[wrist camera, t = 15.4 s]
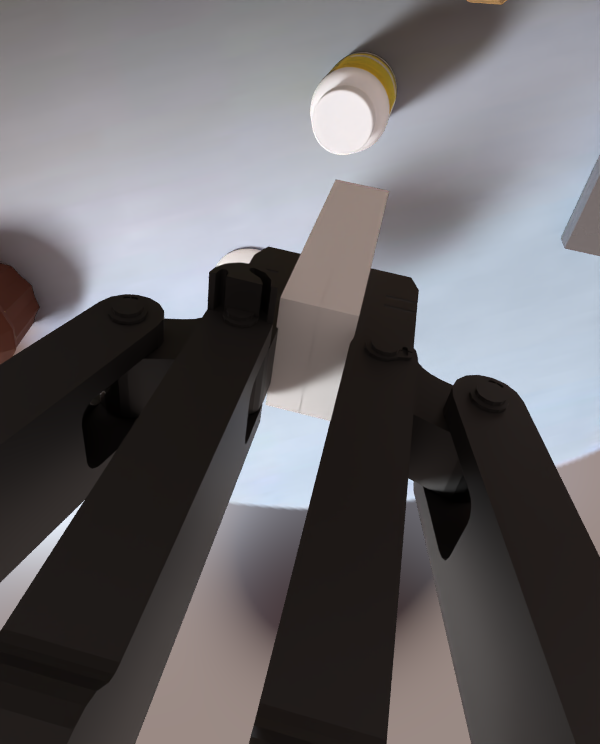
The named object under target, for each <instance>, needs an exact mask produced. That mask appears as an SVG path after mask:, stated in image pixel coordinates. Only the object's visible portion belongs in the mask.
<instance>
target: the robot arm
mask: <svg viewBox="0 0 600 744" xmlns="http://www.w3.org/2000/svg"><path fill="white" fill-rule="evenodd" d="M388 194H389V191H387V190H382V189H378V188H373V187H368V186H364V185H359V184H355V183H350V182H345V181H341V180H335V182H334V184H333V187H332V189H331V191H330V193H329V195H328V197H327V199H326V202H325V204H324V206H323V208H322V210H321V212H320V214H319V216H318V219H317V221H316V223H315V225H314V227H313V229H312V231H311V233H310V236H309V238H308V240H307V242H306V244H305V246H304V248H303V251H302V253H301V254H299V253H294V252H290V251H285V250H281V249H277V248H272V247H267V248H265V249H263V250H261V251H260V252H258V253H256V254H255V255H254V256H253V258H252V259H251V261H250V263H241V262H237V263H226V264H223V265H220V266H217V267H215V268H214V269H213V270H211V271H210V272H209V290H208V309H207V311H206V312H205V314H204V316H203V317H202V318H197V319H164V310H163V309H162V307H161V306H160V304H159V303H157V302H155V301H154V300H152V299H150V298H147V297H143V296H140V295H131V294H125V295H118V296H112V297H109V298H107V299H105V300H102V301H100V302H98V303H97V304H95V305H94V306H92V307H91V308H89V309H87V310H86V311H84V312H83V313H81V314H79V315H78V316H76V317H75V318H73V319H72V320H70V321H68V322H67V323H65V324H64V325H62V326H60V327H59V328H57V329H56V330H54V331H52V332H51V333H49V334H48V335H46V336H45V337H43V338H41V339H40V340H38V341H37V342H35V343H33V344H32V345H30V346H29V347H27V348H26V349H24V350H22V351H21V352H19V353H18V354H16V355H14V356H13V357H11V358H10V359H8V360H7V361H5V362H3V363H2V364H0V582H1V581H2V580H3V579H4V578H5V577H6V576H7V575H8V574H9V573H10V572H11V571H12V570H14V568H16V566H18V565H19V564H20V563H21V562H22V560H24V559H25V558H26V557H27V556H28V555H29V554H30V553H31V552H32V551H33V550H34V549H35V548H36V547H37V546H38V545H39V544H40V543H41V542H42V541H43V540H44V539H45V538H46V537H47V536H48V535H49V534H50V533H51V532H52V531H53V530H54V529H55V528H56V527H57V526H58V525H59V524H60V523H62V521H64V520H65V518H67V517H68V516H69V515H70V514H71V513H72V512H73V511H74V510H75V509H76V508H77V507H78V506H79V505H80V504H81V503H82V502H83V501H84V500H85V501H84V502H83V504H82V505H81V507H80V508H79V510H78V511H77V513H76V515H75V516H74V518H73V519H72V521H71V522H70V524H69V526H68V527H67V529H66V530H65V532H64V533H63V535H62V536H61V538H60V540H59V541H58V543H57V544H56V546H55V547H54V549H53V551H52V552H51V554H50V555H49V557H48V558H47V560H46V561H45V563H44V564H43V566H42V568H41V569H40V571H39V572H38V574H37V575H36V577H35V578H34V580H33V581H32V583H31V585H30V586H29V588H28V589H27V591H26V592H25V594H24V596H23V597H22V599H21V600H20V602H19V603H18V605H17V606H16V608H15V609H14V611H13V613H12V614H11V616H10V617H9V619H8V620H7V622H6V624H5V625H4V627H3V628H2V630H1V631H0V744H135V743H136V740H137V737H138V735H139V732H140V730H141V727H142V725H143V722H144V719H145V717H146V714H147V712H148V709H149V706H150V704H151V701H152V699H153V696H154V693H155V691H156V688H157V686H158V683H159V681H160V678H161V676H162V673H163V670H164V668H165V665H166V663H167V660H168V657H169V655H170V652H171V650H172V647H173V645H174V642H175V639H176V637H177V634H178V632H179V629H180V626H181V624H182V621H183V619H184V616H185V613H186V611H187V608H188V606H189V603H190V601H191V598H192V595H193V592H194V590H195V588H196V585H197V583H198V580H199V577H200V575H201V572H202V570H203V567H204V565H205V562H206V559H207V557H208V554H209V552H210V549H211V546H212V544H213V541H214V538H215V536H216V534H217V531H218V528H219V526H220V523H221V520H222V518H223V515H224V513H225V510H226V507H227V505H228V503H229V500H230V497H231V495H232V492H233V490H234V487H235V485H236V482H237V479H238V477H239V474H240V472H241V469H242V466H243V464H244V461H245V459H246V456H247V454H248V451H249V448H250V446H251V443H252V441H253V438H254V435H255V433H256V430H257V428H258V425H259V423H260V417H261V410H262V403H263V401H264V398H265V396H266V393H267V398H266V405H268V406H272V407H276V408H280V409H284V410H288V411H292V412H296V413H300V414H304V415H308V416H312V417H316V418H320V419H324V420H328V421H330V425H329V429H328V433H327V437H326V441H325V445H324V449H323V453H322V457H321V461H320V465H319V469H318V472H317V476H316V480H315V484H314V488H313V492H312V496H311V500H310V504H309V508H308V513H307V516H306V520H305V524H304V528H303V532H302V536H301V540H300V545H299V548H298V552H297V556H296V560H295V564H294V568H293V572H292V576H291V580H290V584H289V588H288V592H287V596H286V600H285V604H284V608H283V612H282V616H281V620H280V624H279V628H278V632H277V636H276V639H275V643H274V647H273V651H272V655H271V660H270V663H269V667H268V671H267V675H266V679H265V683H264V687H263V691H262V695H261V699H260V703H259V707H258V711H257V715H256V719H255V723H254V727H253V730H252V734H251V738H250V742H249V744H386V743H387V729H388V717H389V705H390V693H391V680H392V668H393V657H394V644H395V632H396V620H397V619H396V618H397V608H398V595H399V583H400V570H401V559H402V547H403V534H404V522H405V510H406V498H407V486H408V478H409V479H411V480H413V481H414V494H415V499H416V503H417V507H418V512H419V516H420V520H421V525H422V529H423V533H424V538H425V543H426V546H427V551H428V555H429V560H430V564H431V569H432V573H433V577H434V582H435V586H436V591H437V595H438V599H439V604H440V608H441V612H442V617H443V621H444V626H445V630H446V634H447V639H448V643H449V647H450V652H451V657H452V661H453V665H454V670H455V674H456V678H457V683H458V687H459V692H460V696H461V700H462V705H463V709H464V714H465V718H466V722H467V727H468V731H469V735H470V740H471V744H600V557H599V555H598V553H597V551H596V549H595V546H594V544H593V542H592V540H591V539H590V536H589V534H588V532H587V530H586V528H585V526H584V524H583V522H582V520H581V518H580V516H579V514H578V512H577V510H576V508H575V506H574V504H573V502H572V500H571V498H570V495H569V494H568V491H567V489H566V487H565V485H564V483H563V481H562V479H561V477H560V475H559V473H558V471H557V469H556V467H555V465H554V463H553V461H552V459H551V457H550V455H549V453H548V450H547V448H546V446H545V444H544V442H543V440H542V438H541V436H540V434H539V432H538V430H537V428H536V426H535V424H534V422H533V420H532V418H531V416H530V414H529V412H528V410H527V408H526V406H525V404H524V402H523V400H522V399H521V398H520V396H519V395H518V394H517V392H516V391H514V390H513V389H512V388H510V387H509V386H508V385H506V384H505V383H502V382H500V381H498V380H496V379H494V378H490V377H486V376H481V375H467V376H464V377H462V378H459V379H457V381H456V382H455V383H454V385H451V384H449V383H447V382H445V381H442V380H440V379H438V378H437V377H435V376H433V375H431V374H430V373H429V372H427V371H426V370H425V369H423V368H422V366H421V365H420V364H419V363H418V357H417V353H416V350H415V349H414V336H415V325H416V313H417V302H418V292H419V290H418V288H417V287H416V285H415V283H414V282H413V280H412V278H411V277H406V276H402V275H398V274H393V273H389V272H384V271H380V270H376V269H371V265H372V260H373V256H374V252H375V248H376V244H377V240H378V235H379V231H380V227H381V223H382V219H383V215H384V210H385V206H386V202H387V198H388Z"/></svg>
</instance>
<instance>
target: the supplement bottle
mask: <svg viewBox="0 0 600 744" xmlns="http://www.w3.org/2000/svg"><path fill="white" fill-rule="evenodd" d="M396 95H397V84H396V79H395V75H394V73H393V71H392V69H391V68H390V66H389V65H388V64H387V62H386V61H385V60H383V59H382V58H381V57H379V56H377V55H375V54H372V53H367V52H358V53H354V54H351V55H348V56H346V57H345V58H343V59H342V60H341V61H339V62H338V63H337V64H336V65H335V67H334V68H333V69H332V70H331V71H330V72H329V73H328V74H327V75H326V76H325V77H324V78H323V79H322V81H321V82H320V84H319V85H318V87H317V88H316V90H315V92H314V95H313V97H312V101H311V108H310V115H311V121H312V128H313V132H314V135H315V137H316V139H317V141H318V142H319V144H320V145H321V146H322V147H323V148H325V149H326V150H327V151H329V152H331V153H334V154H338V155H347V154H352V153H356V152H360V151H363V150H365V149H367V148H369V147H370V146H372V145H373V144H374V143H375V142H376V141H377V140H378V139H379V138H380V136H381V135H382V133H383V132H384V130H385V128H386V125H387V122H388V120H389V117H390V114H391V112H392V109H393V107H394V104H395V101H396Z"/></svg>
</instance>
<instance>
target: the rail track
mask: <svg viewBox="0 0 600 744" xmlns="http://www.w3.org/2000/svg"><path fill="white" fill-rule="evenodd" d="M561 240H562V243H563V245H564V248H565V249H570V250H574V251H579V252H584V253H588V254H593V255H597V256H600V155H599V158H598V160H597V162H596V164H595V166H594V168H593V170H592V173H591V175H590V177H589V179H588V181H587V183H586V185H585V187H584V190H583V192H582V194H581V196H580V198H579V200H578V202H577V205H576V207H575V209H574V211H573V213H572V215H571V217H570V220H569V222H568V224H567V226H566V228H565V230H564V232H563V234H562V237H561Z"/></svg>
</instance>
